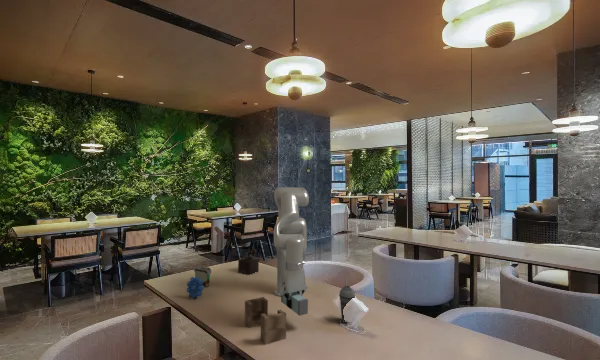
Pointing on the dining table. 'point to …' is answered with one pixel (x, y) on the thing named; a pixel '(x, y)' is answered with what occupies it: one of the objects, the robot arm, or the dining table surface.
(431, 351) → the dining table surface
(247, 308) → the notched wooden uprights
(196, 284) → the grapes
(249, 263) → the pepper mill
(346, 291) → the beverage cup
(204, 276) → the food container
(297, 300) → the rail
